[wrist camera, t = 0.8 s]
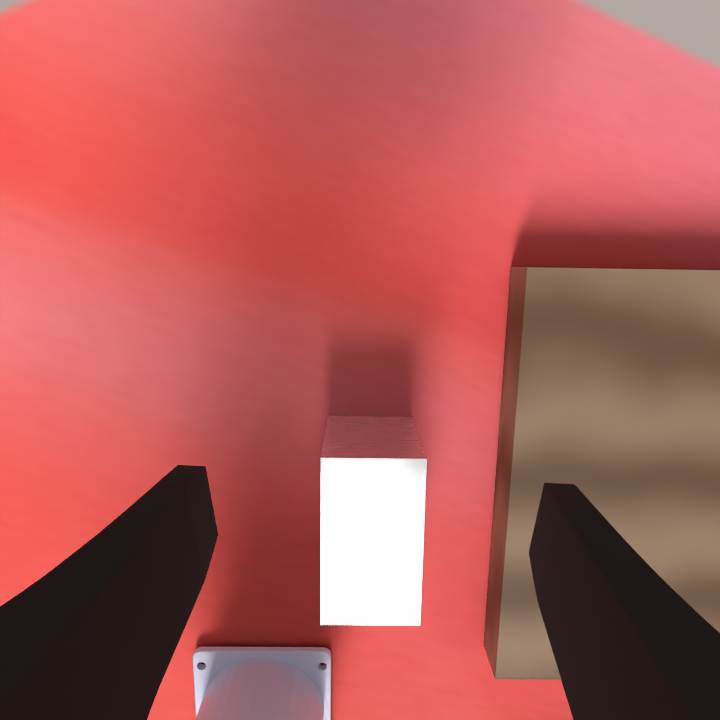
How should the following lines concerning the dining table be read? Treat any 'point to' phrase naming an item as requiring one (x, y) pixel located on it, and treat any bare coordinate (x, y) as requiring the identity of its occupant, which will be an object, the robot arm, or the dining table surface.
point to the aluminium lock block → (372, 521)
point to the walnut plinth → (607, 434)
